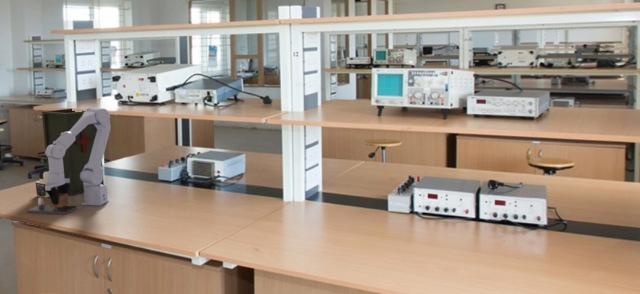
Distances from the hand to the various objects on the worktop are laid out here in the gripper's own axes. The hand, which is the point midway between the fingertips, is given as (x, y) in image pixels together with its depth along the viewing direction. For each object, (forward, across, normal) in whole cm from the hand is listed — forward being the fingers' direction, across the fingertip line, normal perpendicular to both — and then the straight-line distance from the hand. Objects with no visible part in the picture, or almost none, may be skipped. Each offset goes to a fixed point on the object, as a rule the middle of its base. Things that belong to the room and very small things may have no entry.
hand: (59, 202), depth 246 cm
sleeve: (+1, 0, 0) cm, 1 cm away
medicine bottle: (+4, -24, -22) cm, 33 cm away
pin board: (+4, 0, -4) cm, 5 cm away
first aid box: (+4, -37, -16) cm, 40 cm away
